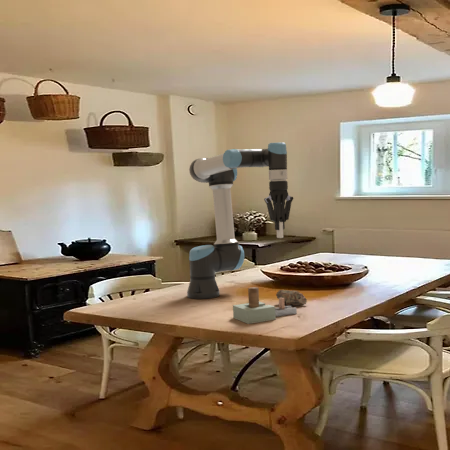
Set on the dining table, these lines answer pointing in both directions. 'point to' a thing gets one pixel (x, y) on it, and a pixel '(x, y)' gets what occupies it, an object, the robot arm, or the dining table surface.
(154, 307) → the dining table surface
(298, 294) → the rock
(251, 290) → the peg
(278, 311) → the block
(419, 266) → the dining table surface
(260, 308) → the block
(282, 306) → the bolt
